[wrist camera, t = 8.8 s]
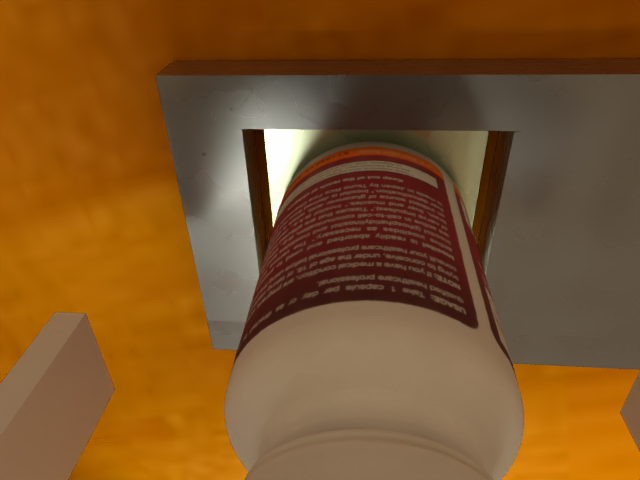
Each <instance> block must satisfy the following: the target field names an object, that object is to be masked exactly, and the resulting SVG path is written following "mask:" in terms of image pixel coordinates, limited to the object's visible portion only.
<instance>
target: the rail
mask: <svg viewBox="0 0 640 480" xmlns="http://www.w3.org/2000/svg"><path fill="white" fill-rule="evenodd" d="M155 77H156V82H157V87H158V91H159V96H160V101H161V106H162V110H163V115H164V120H165V124H166V129H167V134H168V139H169V143H170V148H171V153H172V157H173V162H174V167H175V172H176V176H177V181H178V186H179V191H180V195H181V200H182V205H183V209H184V214H185V219H186V224H187V228H188V233H189V238H190V243H191V247H192V252H193V257H194V261H195V266H196V271H197V276H198V280H199V285H200V290H201V294H202V299H203V304H204V309H205V313H206V318H207V323H208V328H209V332H210V337H211V342H212V346H213V349H224V350H238V346H239V343H240V340H241V337H242V333H243V330H244V326H245V323H246V319H247V316H248V312H249V309H250V305H251V302H252V299H253V295H254V292H255V288H256V285H257V281H258V278H259V275H260V271H261V267H262V264H263V261H264V257H265V254H266V250H267V243H266V234H265V225H264V216H263V206H262V197H261V188H260V178H259V169H258V160H257V150H256V141H255V132H254V129H264V137H265V147H266V157H267V168H268V178H269V189H270V199H271V210H272V220H273V227H274V223H275V220H276V216H277V213H278V209H279V206H280V204H281V201H282V199H283V196H284V194H285V191H286V190H287V188H288V186H289V184H290V183H291V181H292V180H293V178H294V177H295V176H296V174H297V173H298V172H299V171H300V170H301V169H302V168H303V167H304V166H305V165H307V164H308V163H309V162H310V161H312V160H313V159H314V158H316V157H317V156H319V155H321V154H322V153H324V152H326V151H328V150H330V149H333V148H335V147H338V146H342V145H345V144H350V143H356V142H364V141H379V142H387V143H393V144H398V145H402V146H405V147H407V148H410V149H413V150H415V151H417V152H419V153H422V154H423V155H425V156H427V157H428V158H430V159H431V160H433V161H434V162H435V163H437V164H438V165H439V166H440V167H441V168H442V169H443V170H444V171H445V172H446V173H447V174H448V175H449V177H450V178H451V179H452V181H453V182H454V184H455V185H456V187H457V189H458V191H459V193H460V195H461V197H462V200H463V202H464V205H465V208H466V211H467V215H468V218H469V222H470V225H471V228H472V226H473V220H474V214H475V209H476V203H477V197H478V191H479V185H480V180H481V174H482V168H483V162H484V156H485V150H486V145H487V139H488V133H489V131H499V134H498V140H497V145H496V150H495V156H494V161H493V167H492V172H491V178H490V183H489V188H488V194H487V199H486V205H485V210H484V216H483V221H482V226H481V232H480V237H479V243H478V251H479V255H480V258H481V262H482V265H483V268H484V272H485V275H486V279H487V282H488V286H489V289H490V292H491V296H492V299H493V303H494V306H495V309H496V313H497V316H498V319H499V322H500V326H501V329H502V333H503V336H504V339H505V342H506V346H507V349H508V352H509V355H510V358H511V362H512V363H514V364H535V365H556V366H577V367H597V368H618V369H639V370H640V58H637V59H444V60H251V61H173V62H172V63H170V64H169V65H168V66H167V67H165V68H164V69H163V70H162V71H160V72H159V73H158V74H157V75H155Z"/></svg>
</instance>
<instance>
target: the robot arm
mask: <svg viewBox="0 0 640 480" xmlns="http://www.w3.org/2000/svg"><path fill="white" fill-rule="evenodd" d="M114 390H115V388H114V386H113V383H112V381H111V378H110V375H109V373H108V370H107V368H106V365H105V362H104V360H103V357H102V355H101V352H100V349H99V347H98V344H97V342H96V339H95V337H94V334H93V331H92V329H91V326H90V324H89V321H88V318H87V316H86V313H60V312H55V313H54V314H53V316H52V317H51V318H50V320H49V321H48V322H47V324H46V325H45V326H44V328H43V329H42V330H41V331H40V333H39V334H38V335H37V337H36V338H35V339H34V341H33V342H32V343H31V344H30V346H29V347H28V348H27V350H26V351H25V352H24V354H23V355H22V356H21V357H20V359H19V360H18V361H17V363H16V364H15V365H14V367H13V368H12V369H11V370H10V372H9V373H8V374H7V376H6V377H5V378H4V380H3V381H2V382H1V383H0V480H68V479H69V477H70V475H71V473H72V471H73V469H74V467H75V465H76V463H77V461H78V459H79V458H80V456H81V454H82V452H83V450H84V448H85V446H86V444H87V442H88V440H89V438H90V436H91V435H92V433H93V431H94V429H95V427H96V425H97V423H98V421H99V419H100V417H101V415H102V413H103V411H104V410H105V408H106V406H107V404H108V402H109V400H110V398H111V396H112V394H113V392H114ZM620 413H621V415H622V417H623V419H624V421H625V423H626V425H627V427H628V429H629V431H630V433H631V435H632V437H633V439H634V441H635V443H636V445H637V447H638V449H639V451H640V372H639V374H638V376H637V378H636V380H635V382H634V384H633V386H632V388H631V391H630V393H629V395H628V397H627V399H626V401H625V403H624V405H623V407H622V409H621V411H620Z"/></svg>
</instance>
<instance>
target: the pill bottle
mask: <svg viewBox="0 0 640 480" xmlns="http://www.w3.org/2000/svg"><path fill="white" fill-rule="evenodd" d="M224 412H225V424H226V428H227V432H228V435H229V439H230V442H231V445H232V447H233V449H234V451H235V453H236V455H237V456H238V458H239V459H240V461H241V462H242V464H243V465H244V467H245V468H246V469H247V471H248V474H247V476H246V478H245V480H501V479H502V478H503V477H504V476H505V474H506V473H507V472H508V470H509V468H510V467H511V465H512V464H513V462H514V460H515V458H516V456H517V453H518V450H519V448H520V444H521V441H522V436H523V429H524V412H523V404H522V399H521V395H520V391H519V387H518V384H517V380H516V376H515V372H514V368H513V365H512V362H511V358H510V355H509V352H508V349H507V346H506V342H505V339H504V336H503V333H502V329H501V326H500V322H499V319H498V316H497V313H496V309H495V306H494V303H493V299H492V296H491V292H490V289H489V286H488V282H487V279H486V275H485V272H484V268H483V265H482V262H481V258H480V255H479V251H478V248H477V245H476V242H475V238H474V235H473V231H472V228H471V225H470V222H469V218H468V215H467V211H466V208H465V205H464V202H463V200H462V197H461V195H460V193H459V191H458V189H457V187H456V185H455V184H454V182H453V181H452V179H451V178H450V177H449V175H448V174H447V173H446V172H445V171H444V170H443V169H442V168H441V167H440V166H439V165H438V164H437V163H435V162H434V161H433V160H431V159H430V158H428V157H427V156H425V155H423V154H422V153H419V152H417V151H415V150H413V149H410V148H407V147H405V146H402V145H398V144H393V143H387V142H379V141H364V142H356V143H350V144H345V145H342V146H338V147H335V148H333V149H330V150H328V151H326V152H324V153H322V154H321V155H319V156H317V157H316V158H314V159H313V160H312V161H310V162H309V163H308V164H307V165H305V166H304V167H303V168H302V169H301V170H300V171H299V172H298V173H297V174H296V176H295V177H294V178H293V180H292V181H291V183H290V184H289V186H288V188H287V190H286V191H285V194H284V196H283V199H282V201H281V204H280V206H279V209H278V213H277V216H276V220H275V223H274V227H273V230H272V233H271V237H270V240H269V244H268V247H267V250H266V254H265V257H264V261H263V264H262V267H261V271H260V275H259V278H258V281H257V285H256V288H255V292H254V295H253V299H252V302H251V305H250V309H249V312H248V316H247V319H246V323H245V326H244V330H243V333H242V337H241V340H240V343H239V346H238V350H237V353H236V357H235V361H234V365H233V368H232V372H231V376H230V379H229V383H228V386H227V391H226V397H225V411H224Z"/></svg>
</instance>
